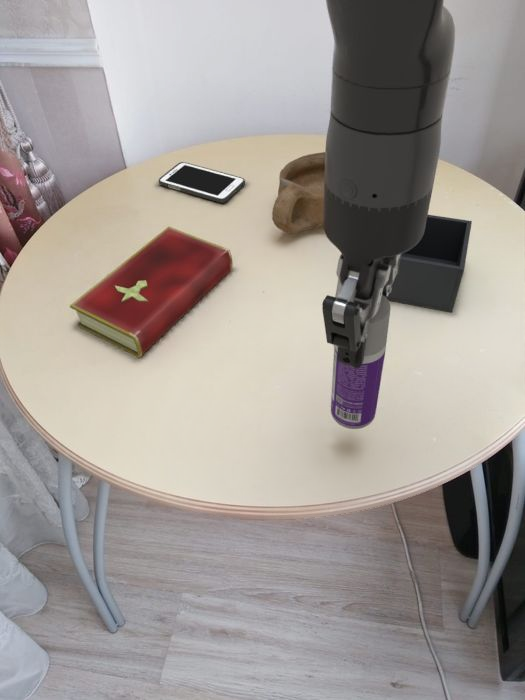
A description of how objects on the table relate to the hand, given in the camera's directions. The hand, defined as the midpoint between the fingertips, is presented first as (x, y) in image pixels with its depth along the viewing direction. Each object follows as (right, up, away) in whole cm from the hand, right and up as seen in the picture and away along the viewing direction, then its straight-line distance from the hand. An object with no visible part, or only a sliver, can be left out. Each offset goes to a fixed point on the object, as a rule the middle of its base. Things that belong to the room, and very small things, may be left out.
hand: (360, 342), depth 51 cm
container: (+1, -7, +8) cm, 11 cm away
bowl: (0, +21, +43) cm, 48 cm away
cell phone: (-20, +30, +51) cm, 63 cm away
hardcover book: (-24, +7, +31) cm, 40 cm away
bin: (+14, +10, +31) cm, 35 cm away
